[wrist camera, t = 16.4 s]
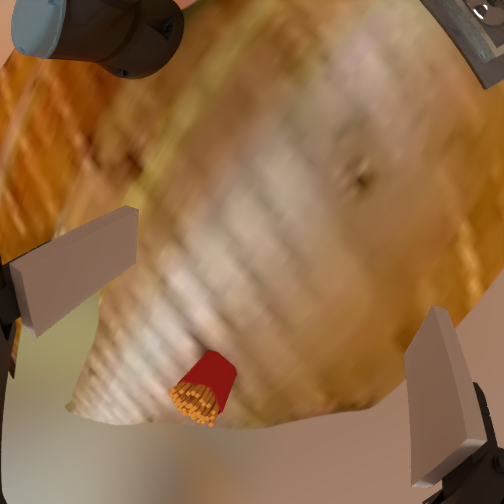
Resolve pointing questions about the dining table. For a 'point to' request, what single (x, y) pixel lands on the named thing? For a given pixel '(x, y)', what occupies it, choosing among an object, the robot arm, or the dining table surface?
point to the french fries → (205, 388)
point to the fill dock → (472, 39)
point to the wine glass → (488, 11)
